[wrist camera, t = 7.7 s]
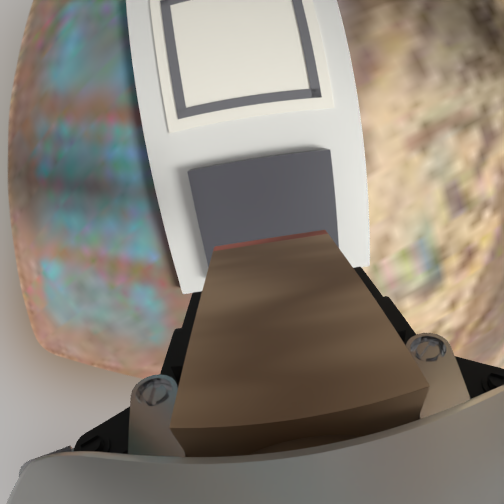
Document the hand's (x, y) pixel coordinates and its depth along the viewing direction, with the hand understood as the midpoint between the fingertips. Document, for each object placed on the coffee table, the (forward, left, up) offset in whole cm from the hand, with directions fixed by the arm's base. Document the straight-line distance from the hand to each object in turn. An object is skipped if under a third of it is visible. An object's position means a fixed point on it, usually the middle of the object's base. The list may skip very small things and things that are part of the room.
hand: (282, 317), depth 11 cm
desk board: (0, -8, -14) cm, 16 cm away
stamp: (0, 0, -2) cm, 2 cm away
